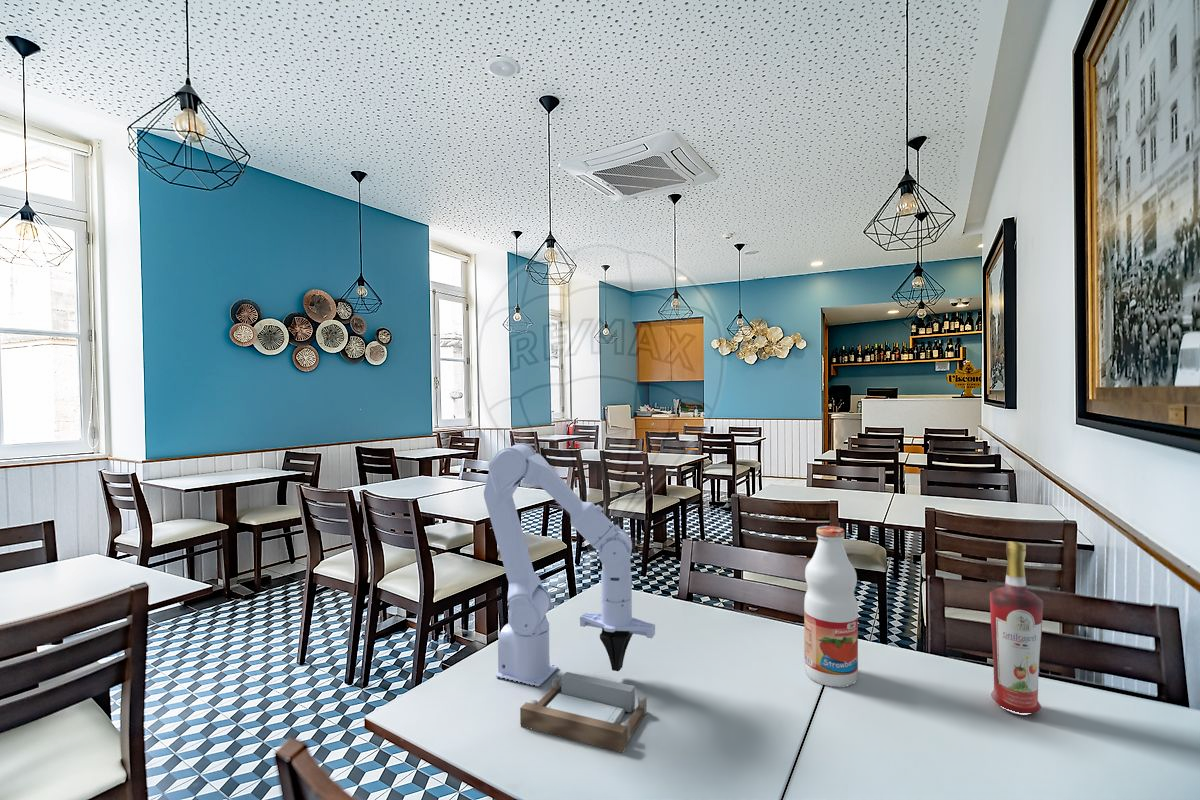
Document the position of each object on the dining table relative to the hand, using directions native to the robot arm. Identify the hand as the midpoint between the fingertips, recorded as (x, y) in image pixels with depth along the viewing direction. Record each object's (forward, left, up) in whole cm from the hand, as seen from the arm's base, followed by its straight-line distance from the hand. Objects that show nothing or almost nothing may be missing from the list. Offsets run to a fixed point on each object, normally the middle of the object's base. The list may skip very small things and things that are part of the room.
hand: (617, 668), depth 108 cm
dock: (0, -14, -2) cm, 14 cm away
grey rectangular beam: (0, -9, -2) cm, 9 cm away
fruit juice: (+37, +16, -2) cm, 41 cm away
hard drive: (-1, -14, -3) cm, 15 cm away
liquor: (+66, +16, -2) cm, 68 cm away
